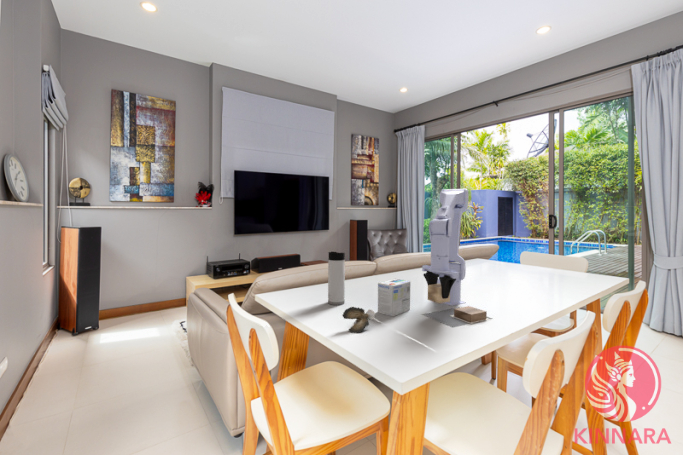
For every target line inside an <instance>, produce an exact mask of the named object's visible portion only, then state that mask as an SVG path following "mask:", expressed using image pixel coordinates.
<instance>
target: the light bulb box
mask: <svg viewBox="0 0 683 455" xmlns="http://www.w3.org/2000/svg"><path fill="white" fill-rule="evenodd" d="M409 311H411V281H410V280H404V279H399V278H393V279H388V280H386V281H382V282H378V283H377V313H380V314H383V315H385V316H386V315H387V316H389V317H394V316H397V315H401V314H403V313H406V312H409Z"/></svg>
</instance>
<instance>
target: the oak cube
mask: <svg viewBox="0 0 683 455" xmlns="http://www.w3.org/2000/svg"><path fill="white" fill-rule="evenodd" d="M427 300H428V301H430V302H434V303H435V304H445V303H444V302H450V293H449V297H448V298H446V299H443V298H442V289H441V284H431V285H428V284H427Z"/></svg>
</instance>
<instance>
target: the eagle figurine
mask: <svg viewBox="0 0 683 455" xmlns="http://www.w3.org/2000/svg"><path fill="white" fill-rule="evenodd" d="M365 312H366V313H365ZM342 313H343V314H342V315H341V316H342V318H343V320H345V319H347V320H355V321H354V322H353V323H352V326H351V327H350V328H349V329H348V332H349V333H351V334H357V333H361V332H363V331H364V330H365V329H366V328H367V326H369V325H370V322H369V320H371V321H372V320H374V318H375V316H376V313H375V311H373V310H372V309H368V310H367V311H365V309H364V308H362V307H356V306H351V307H348V308H346V309H345V310H344V312H342Z"/></svg>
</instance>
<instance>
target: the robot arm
mask: <svg viewBox="0 0 683 455" xmlns="http://www.w3.org/2000/svg"><path fill="white" fill-rule="evenodd" d="M439 202H440V205H441V207H439V208H438V209H437V211H436V214H435V216H434V218H433V219H432V220H430V221H429V224H428V233H429V241H430V265H427V264H425V265H423V264H422V267H421V268H422V269H421V271H422V272H425V273H423V274H422V276H423V278H424V279H425V281H426V284H427V286H428V285H431V284H441V289H442V298H443V299H446V298H448V297H449V293H450V302H444V303H443V304H445V305H448V306H457V305H463V304H466V302H465V301H463V300H461V297H462V296H461V293H462V292H461V290H462V289H461V288H462V281H464V279H465V278H466V271H467V269H466V268H467V267H466V261H465V260H466V259H464V258H463V257H462V256H460V255H459V251H460V250H459V248H460V238H461V237H460V235H461V224H462V223H461V220H462V217H463V214H464V213H465V212H467V211H468V207H469V190H468V189H467V188H465V187H464V188H448V189H447V188H446V189H445V188H441V190H440V193H439Z"/></svg>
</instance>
